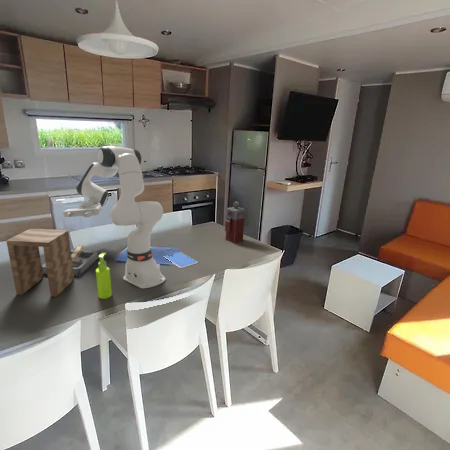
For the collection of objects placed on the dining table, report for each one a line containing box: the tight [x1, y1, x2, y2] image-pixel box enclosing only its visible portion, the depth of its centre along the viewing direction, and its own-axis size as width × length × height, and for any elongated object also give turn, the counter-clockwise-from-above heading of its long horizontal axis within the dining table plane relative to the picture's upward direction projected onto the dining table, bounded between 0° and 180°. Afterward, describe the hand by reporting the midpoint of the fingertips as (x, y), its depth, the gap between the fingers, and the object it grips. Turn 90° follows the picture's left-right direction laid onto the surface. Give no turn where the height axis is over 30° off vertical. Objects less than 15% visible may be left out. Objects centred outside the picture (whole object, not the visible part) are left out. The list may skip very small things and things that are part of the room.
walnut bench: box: [5, 228, 75, 297], centre depth 139 cm, size 16×18×26 cm
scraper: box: [71, 245, 85, 266], centre depth 167 cm, size 15×12×4 cm
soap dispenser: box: [95, 252, 113, 300], centre depth 135 cm, size 6×7×20 cm
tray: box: [41, 249, 99, 277], centre depth 164 cm, size 22×20×4 cm
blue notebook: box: [163, 251, 199, 269], centre depth 178 cm, size 19×13×1 cm, turn 42°
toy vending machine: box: [224, 201, 246, 244], centre depth 208 cm, size 9×11×28 cm
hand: (77, 215), depth 165 cm, fingers open, 8 cm apart
